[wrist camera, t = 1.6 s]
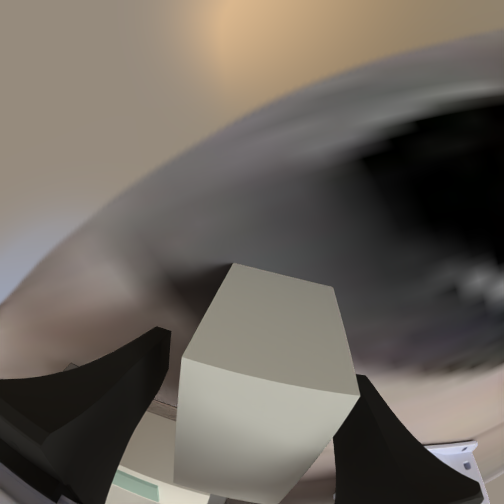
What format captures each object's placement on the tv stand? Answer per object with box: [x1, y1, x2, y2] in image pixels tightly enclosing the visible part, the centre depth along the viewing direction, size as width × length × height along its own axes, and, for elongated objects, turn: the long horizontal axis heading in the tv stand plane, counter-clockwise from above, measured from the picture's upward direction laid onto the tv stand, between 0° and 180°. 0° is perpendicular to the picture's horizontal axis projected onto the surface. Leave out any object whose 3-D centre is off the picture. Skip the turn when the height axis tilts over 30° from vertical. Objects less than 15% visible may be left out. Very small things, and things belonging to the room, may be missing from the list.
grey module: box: [173, 263, 360, 504], centre depth 10 cm, size 4×7×6 cm, turn 168°
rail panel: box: [64, 363, 227, 504], centre depth 15 cm, size 12×18×5 cm, turn 168°
